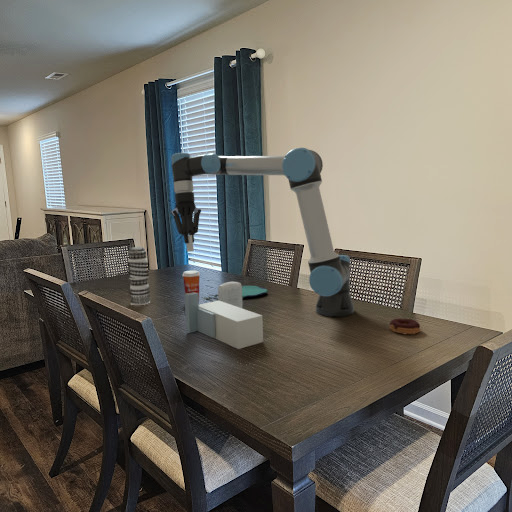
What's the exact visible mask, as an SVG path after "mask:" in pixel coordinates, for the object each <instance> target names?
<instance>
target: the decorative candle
mask: <svg viewBox="0 0 512 512" xmlns="http://www.w3.org/2000/svg"><path fill="white" fill-rule="evenodd" d="M127 253H128V260H127V261H126V262H127V264H126V267H127V274H128V278H129V281H130V282H129V283H130V284H129V286H130V287H129V299H130V300H129V301H130V306H132V305H144V306H146V305H145V304H148V303H150V304H151V298H150V297H151V294H149V293H151V292H150V287H149V283H148V282H149V281H148V278H149V277H150V274H149V270H148V269H149V262H148V259H147V250H146V249H145V248H144V247H141V246H136V247H135V246H134V247H130V248H129V250H128V251H127ZM148 305H149V304H148Z"/></svg>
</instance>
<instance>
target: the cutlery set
mask: <svg viewBox="0 0 512 512" xmlns="http://www.w3.org/2000/svg"><path fill="white" fill-rule="evenodd" d="M267 293H268V289H267V288H265V287H260V286H258V285H242V299H244V298H253V297H258V296H261V295H266V294H267ZM209 296H214V297H213V298H214V299H212V297H209ZM203 297H204V298H203ZM203 297H201V298H202V299H204V300H205V299H206V301H210V302H211V301H212V302H214V301H215V300H218V294H215V295H214V294H213V295H212V294H210V295H208V297H207V296H203Z"/></svg>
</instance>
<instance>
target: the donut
mask: <svg viewBox="0 0 512 512" xmlns="http://www.w3.org/2000/svg"><path fill="white" fill-rule="evenodd" d="M420 326H421V325H420V324H419V322H418V321H417V320H415V319H412V318H394V319H392V320H390V322H389V330H391V331H392V332H394V333H396V332H397V334H399V333H406V334H405V335H407V334H411V335H413V334H412V333H417V334H419V333H420V331H421V328H420ZM418 332H419V333H418Z"/></svg>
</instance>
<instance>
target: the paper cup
mask: <svg viewBox="0 0 512 512" xmlns="http://www.w3.org/2000/svg"><path fill="white" fill-rule="evenodd" d="M200 275H201V273H200V271H198V270H186V271H183V273H182V277H183V286H184V287H183V289H184V295H185V294H188V293H193V292H195V293H198V299H199V300H200Z"/></svg>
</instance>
